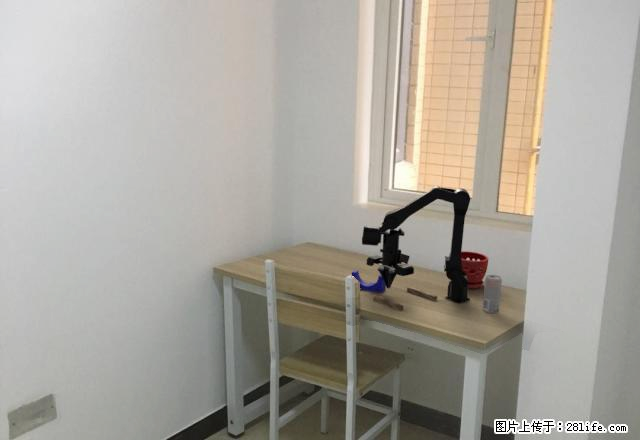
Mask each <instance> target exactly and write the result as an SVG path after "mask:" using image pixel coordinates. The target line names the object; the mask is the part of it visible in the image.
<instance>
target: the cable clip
mask: <svg viewBox="0 0 640 440" xmlns="http://www.w3.org/2000/svg"><path fill="white" fill-rule="evenodd" d="M359 272H360V271H359V270H355V269H354V270H353V271H351V277H352V276H354V277H355V278H356V279H357V280H358V281H359V282H360V288H361V289H360V290H363V291H369V292H375V293H383V292H384V291H385V290H386V289H387V287H386V285H385V282H384V280H383V278H382V276H381V274H379V275H378V276H377V277H378V278H377V281H376V282H370V283H367V282H365V281H364V280H363V279H361V276H360V273H359Z"/></svg>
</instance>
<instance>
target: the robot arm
mask: <svg viewBox="0 0 640 440" xmlns="http://www.w3.org/2000/svg"><path fill="white" fill-rule="evenodd" d="M436 200H442V201H444V202H448V203H452V206H453V207H452V209H453V223H452V231H451V232H452V234H451V241H450V242H451V243H450V252H449V255H448V256H447V255H445V256H444V261H445V262H444V265H443V271H444V273H445V276H446V278H447V279H448V280H449V281H448V284H447V293H446V296H445V300H449V301H452V302H454V303H457V304H462V303H465V302H467V301H470V300H471V298H470V297H468V296H469V295H468V294H469V288H468V286H469V284H468V278H467V274H466V273H465V272H464V271H463V270H462V260H461V251H463V250H462V249H463V239H464V230H465V221H466V220H465V219H466V215H467V212H468V209H469V206H470V202H471V196H470V194H469V192H468V191H467V189H465V188H463V187H461V188H457V189H453V188H449V187H442V186H441V187H440V186H438V185H436V186H433V187H432V188H431V189H429V190H428V191H426V192H425V193H423V194H421V195H420V196H419V197H417V198H415V199H413V200H412V201H411V202H409V203H407V204H405V205H404V206H401V207H398V208H394V209H393V210H390V211H388V212H387V213H386V214H385V216H384V218H383V222H381V224H379V226H369V225H364V226H363V230H362V236H361V244H362V246H375V247H377V246H379V244H381V243H382V248H380V249H379V252H380V253H381V255H382V256H379V255H373V256H368V257H367V259H366V266H369V267H373V266H374V265H375V264H376V265H378V268H377V272H379V275H381V276H382V278H383V280H384V282H385V285H386V289H390V288H391V287H392V284H393V283H394V280H395V278H396V277H397V275H398V276H401V277H407V276H410V275H413V274H415V267H413V266H412V265H411V264H409V261H410V257H411V256H410V255H407V254H405V253H402V249H399V247H400V246H399V244H400V236H401V237H404V236H405V234H406V233H405V231H404V230H403V229H402V228H401V227H400V226H401V225H402V224H404V222H405V221H407V219H408V218H410V216H412V215H413V214H415V213H417V212H418V211H421V210H422V209H424V208H426V206H428V205H430V204H431V203H433V202H435V201H436ZM397 228H398V229H397ZM402 263H403V264H402Z"/></svg>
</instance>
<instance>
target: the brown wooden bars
mask: <svg viewBox="0 0 640 440" xmlns="http://www.w3.org/2000/svg"><path fill="white" fill-rule="evenodd" d="M406 291H407V292H409V293H412V294H415V295H417V296H419V297H422V298H426V299H429V300H431V301H434V302H435V301H438V295H436V294H432V293H431V292H427V291H426V290H425V291H424V290H422V289H418V288H415V287H413V286H407V288H406ZM372 300H373V301H374V302H376V303H380V304H382V305H384V306H387V307H390V308H393V309H395V310H397V311H404V305H402V304H400V303H398V302H395V301H393V300H390V299H387V298H385V297H383V296H379V295H373V297H372Z"/></svg>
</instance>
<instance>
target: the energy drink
mask: <svg viewBox="0 0 640 440" xmlns="http://www.w3.org/2000/svg"><path fill="white" fill-rule="evenodd" d="M502 283H503V279H502V277H501V276H499V275H496V274H495V275H494V274H488V275H485V277H484V288H483V289H484V291H483V303H482V310H483V312H484V313H488V314H498V313H499V312H500V306H501V304H500V303H501V295H502V294H501V293H502Z"/></svg>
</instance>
